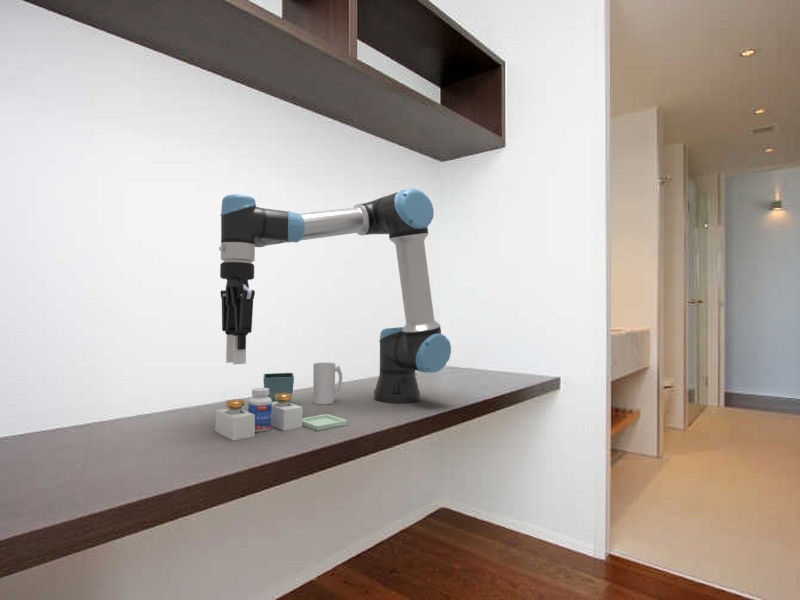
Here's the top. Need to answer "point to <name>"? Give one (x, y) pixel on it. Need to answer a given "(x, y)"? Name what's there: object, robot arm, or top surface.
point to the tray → (323, 422)
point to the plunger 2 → (283, 399)
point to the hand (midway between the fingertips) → (235, 362)
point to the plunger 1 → (235, 406)
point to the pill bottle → (261, 408)
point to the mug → (325, 382)
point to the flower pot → (278, 383)
